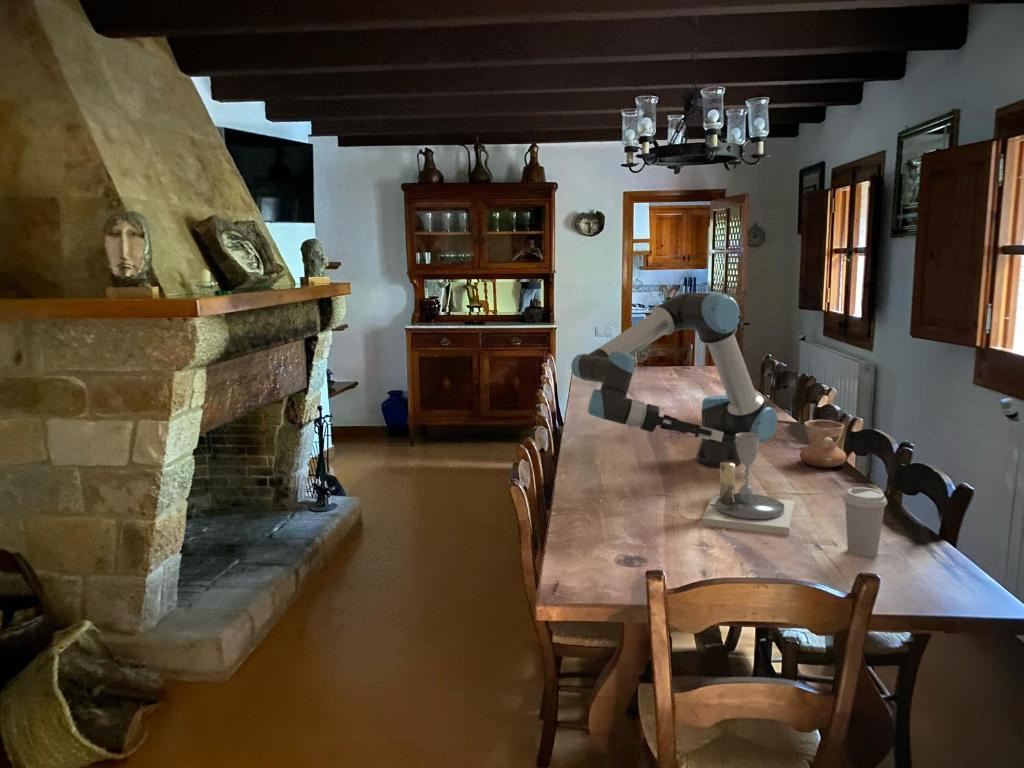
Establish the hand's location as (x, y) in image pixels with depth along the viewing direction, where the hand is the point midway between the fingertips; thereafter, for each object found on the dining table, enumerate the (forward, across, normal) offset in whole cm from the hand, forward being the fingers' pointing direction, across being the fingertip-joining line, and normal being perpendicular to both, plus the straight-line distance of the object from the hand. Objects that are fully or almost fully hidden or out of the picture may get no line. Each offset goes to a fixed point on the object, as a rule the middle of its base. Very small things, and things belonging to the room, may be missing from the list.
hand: (716, 436), depth 211 cm
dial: (+13, +4, -17) cm, 21 cm away
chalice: (+17, -16, -14) cm, 27 cm away
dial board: (+14, +3, -19) cm, 24 cm away
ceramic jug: (+48, -43, +2) cm, 65 cm away
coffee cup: (+34, +29, -19) cm, 48 cm away
